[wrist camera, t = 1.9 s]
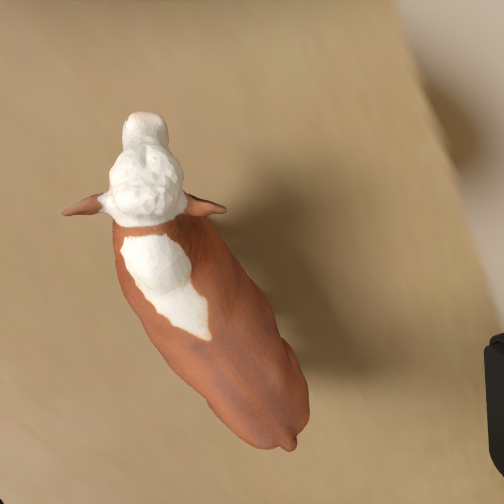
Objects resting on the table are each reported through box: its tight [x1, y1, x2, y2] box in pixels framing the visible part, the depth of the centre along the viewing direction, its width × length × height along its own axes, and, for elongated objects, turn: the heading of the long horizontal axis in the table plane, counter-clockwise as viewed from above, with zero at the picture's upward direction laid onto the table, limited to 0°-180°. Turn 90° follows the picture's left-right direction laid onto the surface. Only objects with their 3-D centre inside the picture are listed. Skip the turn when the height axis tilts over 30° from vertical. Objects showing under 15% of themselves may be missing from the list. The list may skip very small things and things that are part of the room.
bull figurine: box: [62, 112, 310, 452], centre depth 18 cm, size 4×13×8 cm, turn 24°
